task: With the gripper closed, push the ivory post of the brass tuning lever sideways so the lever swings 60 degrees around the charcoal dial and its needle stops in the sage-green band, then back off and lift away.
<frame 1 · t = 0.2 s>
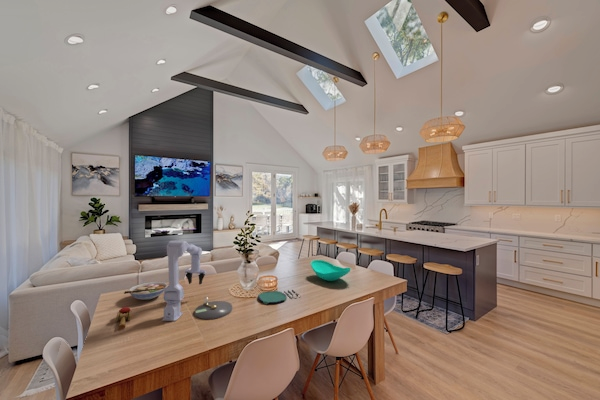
hand: (195, 283, 171), 10 cm above the table, tool pointing down, fingers open, 7 cm apart
cutlery set: (278, 298, 175), on the table
kendama: (123, 322, 137), on the table
tuner dial: (213, 310, 153), on the table
ramen bowl: (148, 298, 170), on the table
table top decor: (329, 280, 216), on the table
tuning key: (209, 302, 154), point 4 cm above the table, hinge at 60.0°
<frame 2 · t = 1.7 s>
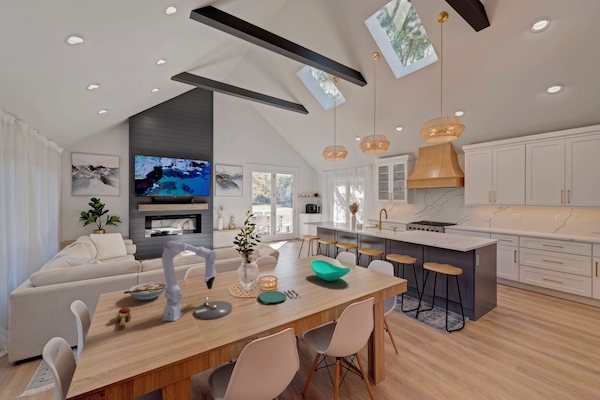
hand: (209, 288, 163), 10 cm above the table, tool pointing down, fingers closed
nothing on the table moved.
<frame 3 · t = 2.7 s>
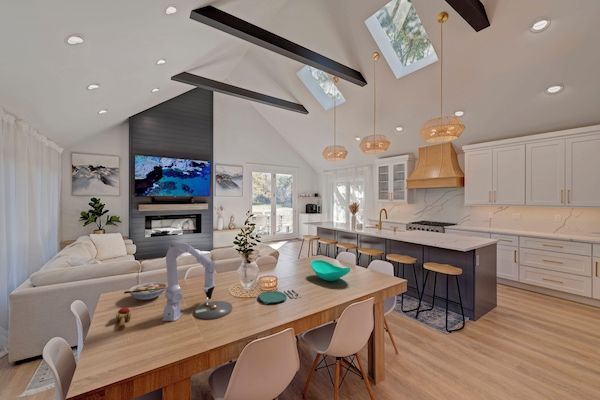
hand: (209, 298, 162), 3 cm above the table, tool pointing down, fingers closed
nothing on the table moved.
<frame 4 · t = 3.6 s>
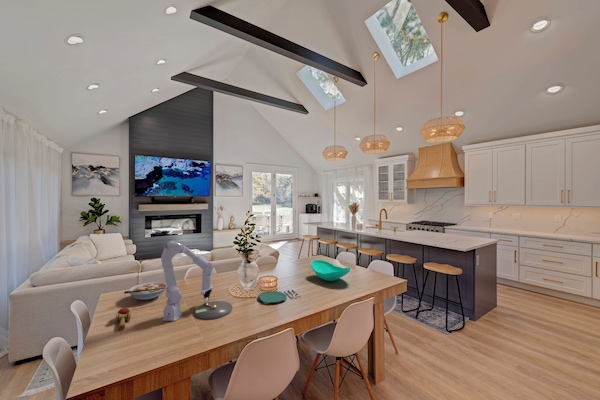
hand: (206, 301, 158), 3 cm above the table, tool pointing down, fingers closed, pressing on tuning key
tuning key: (209, 302, 154), point 4 cm above the table, hinge at 60.7°, touching gripper
everything else where it was.
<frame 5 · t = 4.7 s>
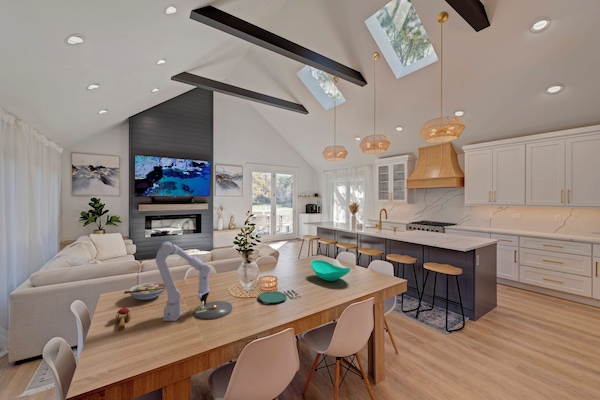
hand: (203, 305, 152), 3 cm above the table, tool pointing down, fingers closed
tuning key: (207, 304, 151), point 4 cm above the table, hinge at 108.4°, touching gripper
everything else where it was.
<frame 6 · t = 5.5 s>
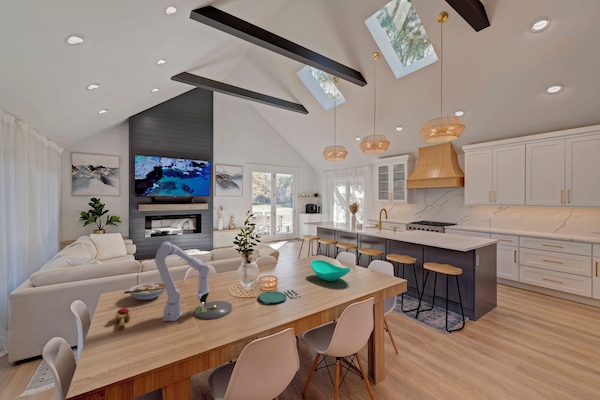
hand: (203, 305, 152), 3 cm above the table, tool pointing down, fingers closed
tuning key: (207, 305, 151), point 4 cm above the table, hinge at 117.9°, touching gripper
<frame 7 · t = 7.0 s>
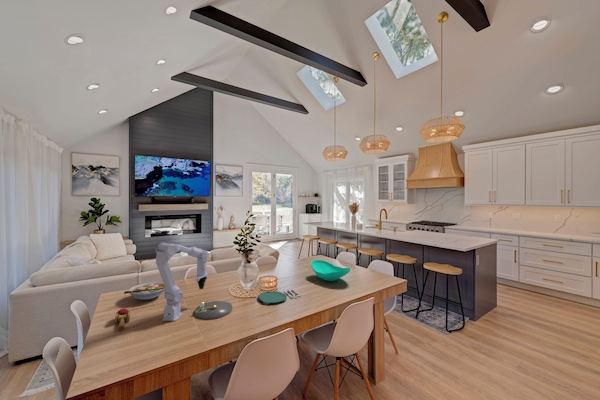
hand: (201, 288, 161), 10 cm above the table, tool pointing down, fingers closed
tuning key: (207, 305, 151), point 4 cm above the table, hinge at 118.2°
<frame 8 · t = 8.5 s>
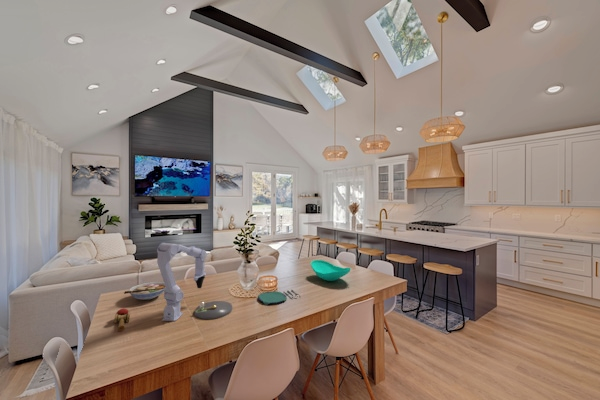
hand: (199, 287, 162), 10 cm above the table, tool pointing down, fingers closed
at the end: tuning key at +118° (first picture: +60°); the gripper is holding nothing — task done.
